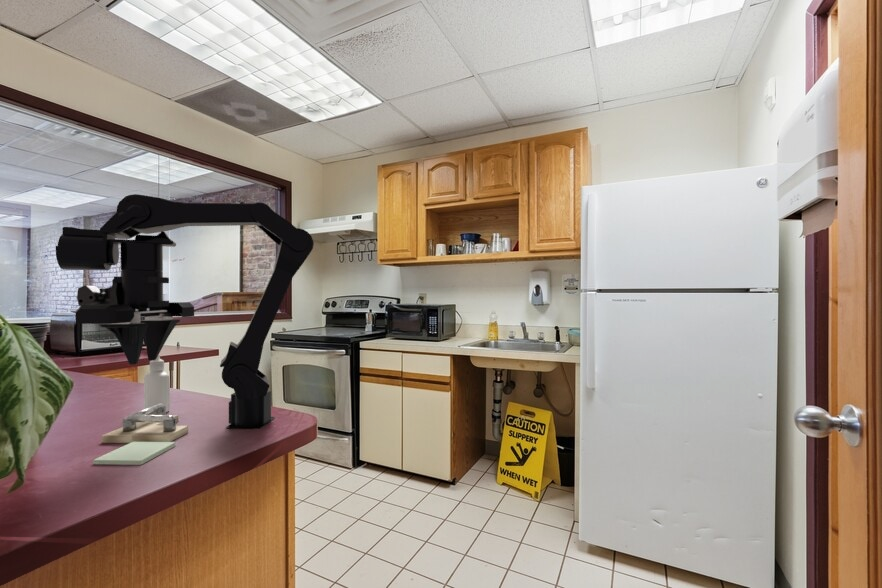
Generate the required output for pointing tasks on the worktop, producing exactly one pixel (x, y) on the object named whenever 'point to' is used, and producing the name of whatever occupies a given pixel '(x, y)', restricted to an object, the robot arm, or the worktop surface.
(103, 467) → the worktop surface
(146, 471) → the worktop surface
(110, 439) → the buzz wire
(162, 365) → the eye dropper bottle
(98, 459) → the pad
